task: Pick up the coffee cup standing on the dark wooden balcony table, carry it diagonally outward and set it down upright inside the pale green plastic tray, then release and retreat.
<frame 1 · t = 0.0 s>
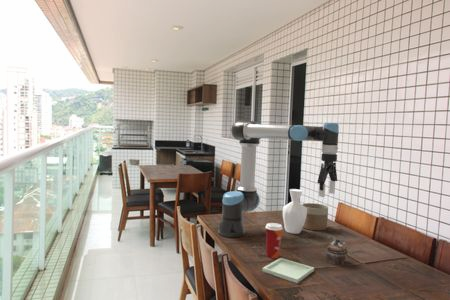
hand: (326, 195, 173), 28 cm above the table, fingers open, 13 cm apart
cupcake: (335, 261, 158), on the table
planter: (313, 227, 214), on the table
vase: (293, 231, 203), on the table
coffee cup: (272, 256, 162), on the table
tray: (288, 271, 144), on the table
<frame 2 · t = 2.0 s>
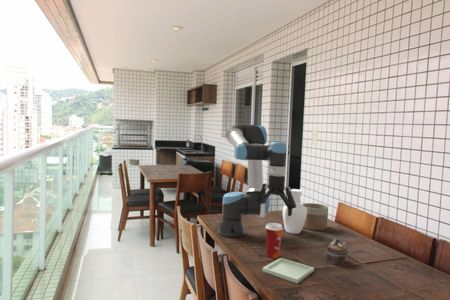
hand: (274, 219, 160), 17 cm above the table, fingers open, 13 cm apart
nothing on the table moved.
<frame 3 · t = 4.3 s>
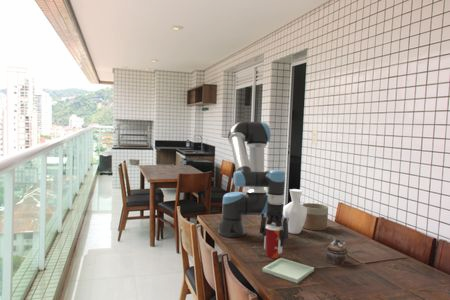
hand: (272, 250, 161), 3 cm above the table, fingers closed on coffee cup, 7 cm apart
coffee cup: (272, 256, 162), on the table, touching gripper
everything else where it was.
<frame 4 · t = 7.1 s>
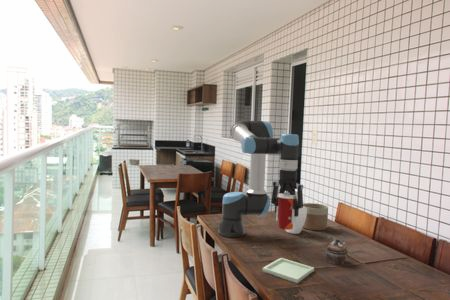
hand: (285, 221, 148), 20 cm above the table, fingers closed on coffee cup, 7 cm apart
coffee cup: (285, 228, 148), point 17 cm above the table, touching gripper
everything else where it was.
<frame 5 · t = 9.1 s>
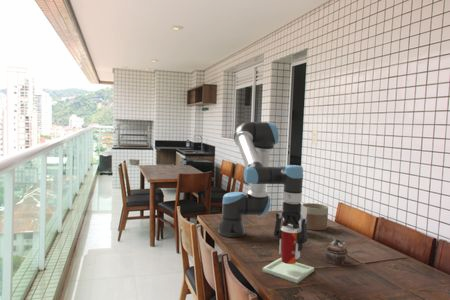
hand: (289, 255, 144), 7 cm above the table, fingers closed on coffee cup, 7 cm apart
coffee cup: (288, 261, 144), point 4 cm above the table, touching gripper
everything else where it was.
when the fingers open (3 cm above the table, at t = 10.2 s): coffee cup stays where it is, resting on tray.
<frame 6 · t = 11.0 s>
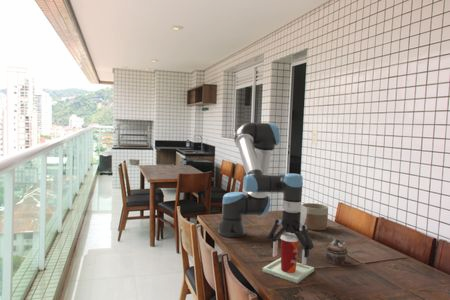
hand: (288, 260, 144), 5 cm above the table, fingers open, 13 cm apart
coffee cup: (288, 270, 144), resting on tray
everything else where it was.
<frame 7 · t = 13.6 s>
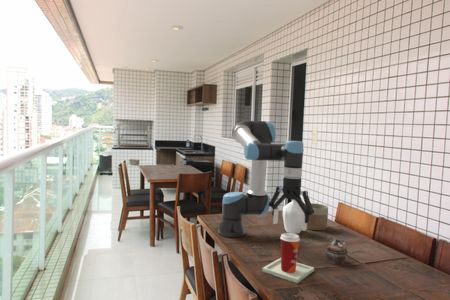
hand: (289, 226, 145), 19 cm above the table, fingers open, 13 cm apart
nothing on the table moved.
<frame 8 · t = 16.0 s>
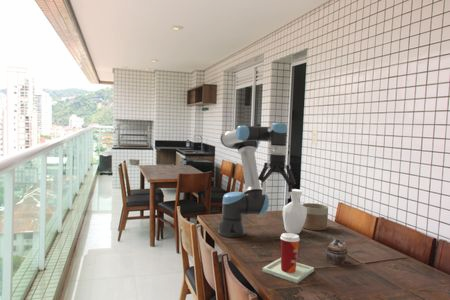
hand: (275, 196, 170), 27 cm above the table, fingers open, 13 cm apart
nothing on the table moved.
at the end: coffee cup inside the target area on the tray (0.1 cm from its centre), point 0.4 cm above the tray's base; coffee cup tilted 0°; the gripper is holding nothing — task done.
